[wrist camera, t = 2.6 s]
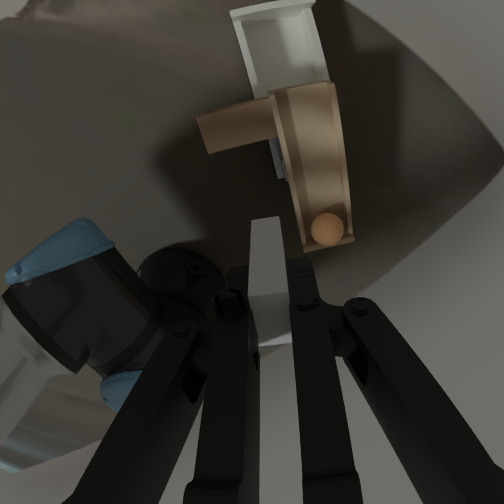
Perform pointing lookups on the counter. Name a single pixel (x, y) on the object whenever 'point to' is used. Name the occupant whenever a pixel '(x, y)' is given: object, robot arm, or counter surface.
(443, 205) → the counter surface
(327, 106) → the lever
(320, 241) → the ball
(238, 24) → the grey open bin
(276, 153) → the fulcrum
